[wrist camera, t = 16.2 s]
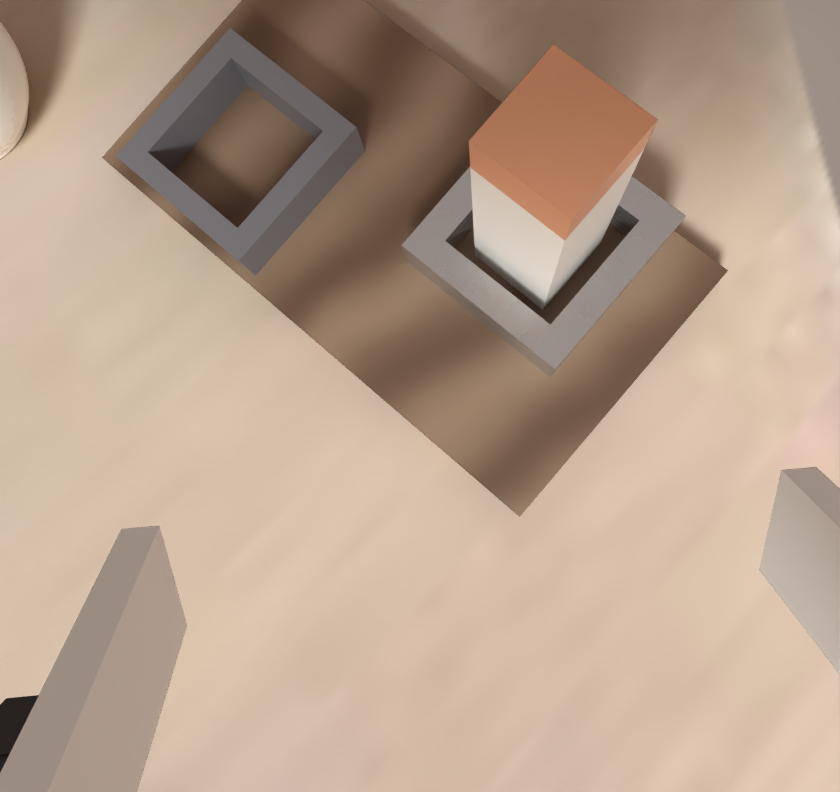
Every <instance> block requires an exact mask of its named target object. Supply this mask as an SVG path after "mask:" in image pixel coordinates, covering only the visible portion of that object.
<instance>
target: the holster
mask: <svg viewBox="0 0 840 792" xmlns="http://www.w3.org/2000/svg"><path fill="white" fill-rule="evenodd" d="M247 86H249V87H250V88H251V89H253V90H254V91H255V92H256V93H258V94H259V95H260V96H261V97H263V98H264V99H265V100H266V101H268V102H269V103H270V104H271V105H273V106H274V107H275V108H276V109H278V110H279V111H280V112H281V113H283V114H284V115H285V116H286V117H288V118H289V119H290V120H291V121H293V122H294V123H295V124H296V125H298V126H299V127H300V128H301V129H303V130H304V131H305V132H306V133H308V134H309V135H310V136H311V137H313V138H314V139H315V141H314V142H313V143H312V144H311V145H310V146H309V147H308V149H307V150H306V151H305V152H304V153H303V154H302V155H301V157H300V158H299V159H298V160H297V161H296V162H295V163H294V165H293V166H292V167H291V168H290V169H289V170H288V171H287V172H286V174H285V175H284V176H283V177H282V178H281V179H280V180H279V182H278V183H277V184H276V185H275V186H274V187H273V188H272V190H271V191H270V192H269V193H268V194H267V195H266V196H265V197H264V199H263V200H262V201H261V202H260V203H259V204H258V205H257V207H256V208H255V209H254V210H253V211H252V212H251V213H250V215H249V216H248V217H247V218H246V219H245V220H244V221H243V222H242V224H241V225H240V226H239V227H238V228H237V227H236V226H235V225H233V224H232V223H231V222H230V221H229V220H227V219H226V218H225V217H224V216H223V215H222V214H220V213H219V212H218V211H217V210H216V209H214V208H213V207H212V206H211V205H210V204H209V203H207V202H206V201H205V200H204V199H203V198H201V197H200V196H199V195H198V194H197V193H196V192H194V191H193V190H192V189H191V188H190V187H188V186H187V185H186V184H185V183H184V182H183V181H181V180H180V179H179V178H178V177H177V176H175V175H174V174H173V173H172V171H173V169H174V168H175V167H176V166H177V165H178V164H179V163H180V162H181V160H182V159H183V158H184V157H185V156H186V155H187V154H188V152H189V151H190V150H191V149H192V148H193V147H194V146H195V145H196V143H197V142H198V141H199V140H200V139H201V138H202V137H203V136H204V134H205V133H206V132H207V131H208V130H209V129H210V128H211V127H212V125H213V124H214V123H215V122H216V121H217V120H218V119H219V118H220V116H221V115H222V114H223V113H224V112H225V111H226V110H227V109H228V107H229V106H230V105H231V104H232V103H233V102H234V101H235V100H236V98H237V97H238V96H239V95H240V94H241V93H242V92H243V91H244V89H245V88H246V87H247ZM364 152H365V149H364V146H363V144H362V141H361V138H360V135H359V133H358V130H357V127H356V126H355V125H353V124H352V123H351V122H349V121H348V120H347V119H346V118H344V117H343V116H342V115H341V114H339V113H338V112H337V111H335V110H334V109H333V108H332V107H330V106H329V105H328V104H326V103H325V102H324V101H323V100H321V99H320V98H319V97H318V96H316V95H315V94H314V93H312V92H311V91H310V90H309V89H307V88H306V87H305V86H303V85H302V84H301V83H300V82H298V81H297V80H296V79H295V78H293V77H292V76H291V75H289V74H288V73H287V72H286V71H284V70H283V69H282V68H281V67H279V66H278V65H277V64H275V63H274V62H273V61H272V60H270V59H269V58H268V57H266V56H265V55H264V54H263V53H261V52H260V51H259V50H258V49H256V48H255V47H254V46H252V45H251V44H250V43H249V42H247V41H246V40H245V39H243V38H242V37H241V36H240V35H238V34H237V33H236V32H235V31H233V30H232V29H231V28H229V30H228V31H227V32H226V33H225V34H224V35H223V36H222V37H221V39H220V40H219V41H218V42H217V43H216V44H215V45H214V46H213V48H212V49H211V50H210V51H209V52H208V53H207V54H206V55H205V56H204V58H203V59H202V60H201V61H200V62H199V63H198V64H197V65H196V67H195V68H194V69H193V70H192V71H191V72H190V73H189V74H188V76H187V77H186V78H185V79H184V80H183V81H182V82H181V83H180V85H179V86H178V87H177V88H176V89H175V90H174V91H173V92H172V93H171V95H170V96H169V97H168V98H167V99H166V100H165V101H164V102H163V104H162V105H161V106H160V107H159V108H158V109H157V110H156V111H155V113H154V114H153V115H152V116H151V117H150V118H149V119H148V120H147V121H146V123H145V124H144V125H143V126H142V127H141V128H140V129H139V130H138V132H137V133H136V134H135V135H134V136H133V137H132V138H131V139H130V141H129V142H128V143H127V144H126V145H125V146H124V147H123V148H122V149H121V151H120V152H119V153H118V154H117V155H116V156H117V157H118V158H119V159H120V160H121V161H123V162H124V163H125V164H126V165H127V166H128V167H129V168H130V169H132V170H133V171H134V172H135V173H136V174H137V175H138V176H139V177H141V178H142V179H143V180H144V181H145V182H146V183H148V184H149V185H150V186H151V187H152V188H153V189H155V190H156V191H157V192H158V193H159V194H160V195H162V196H163V197H164V198H165V199H166V200H167V201H169V202H170V203H171V204H172V205H173V206H175V207H176V208H177V209H178V210H179V211H180V212H182V213H183V214H184V215H185V216H186V217H187V218H189V219H190V220H191V221H192V222H193V223H194V224H196V225H197V226H198V227H199V228H200V229H201V230H203V231H204V232H205V233H206V234H207V235H208V236H210V237H211V238H212V239H213V240H214V241H215V242H217V243H218V244H219V245H220V246H221V247H222V248H224V249H225V250H226V251H227V252H228V253H229V254H231V255H232V256H233V257H234V258H235V259H236V260H238V261H239V262H240V263H241V264H242V265H243V266H245V267H246V268H247V269H248V270H249V271H250V272H252V273H253V274H254V275H255V276H256V275H257V274H258V273H259V271H260V270H261V269H262V268H263V267H264V266H265V265H266V263H267V262H268V261H269V260H270V259H271V258H272V257H273V255H274V254H275V253H276V252H277V251H278V250H279V249H280V248H281V246H282V245H283V244H284V243H285V242H286V241H287V240H288V238H289V237H290V236H291V235H292V234H293V233H294V232H295V230H296V229H297V228H298V227H299V226H300V225H301V224H302V222H303V221H304V220H305V219H306V218H307V217H308V216H309V214H310V213H311V212H312V211H313V210H314V209H315V208H316V206H317V205H318V204H319V203H320V202H321V201H322V200H323V198H324V197H325V196H326V195H327V194H328V193H329V192H330V190H331V189H332V188H333V187H334V186H335V185H336V184H337V182H338V181H339V180H340V179H341V178H342V177H343V176H344V174H345V173H346V172H347V171H348V170H349V169H350V168H351V166H352V165H353V164H354V163H355V162H356V161H357V160H358V158H359V157H360V156H361V155H362V154H363V153H364Z"/></svg>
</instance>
